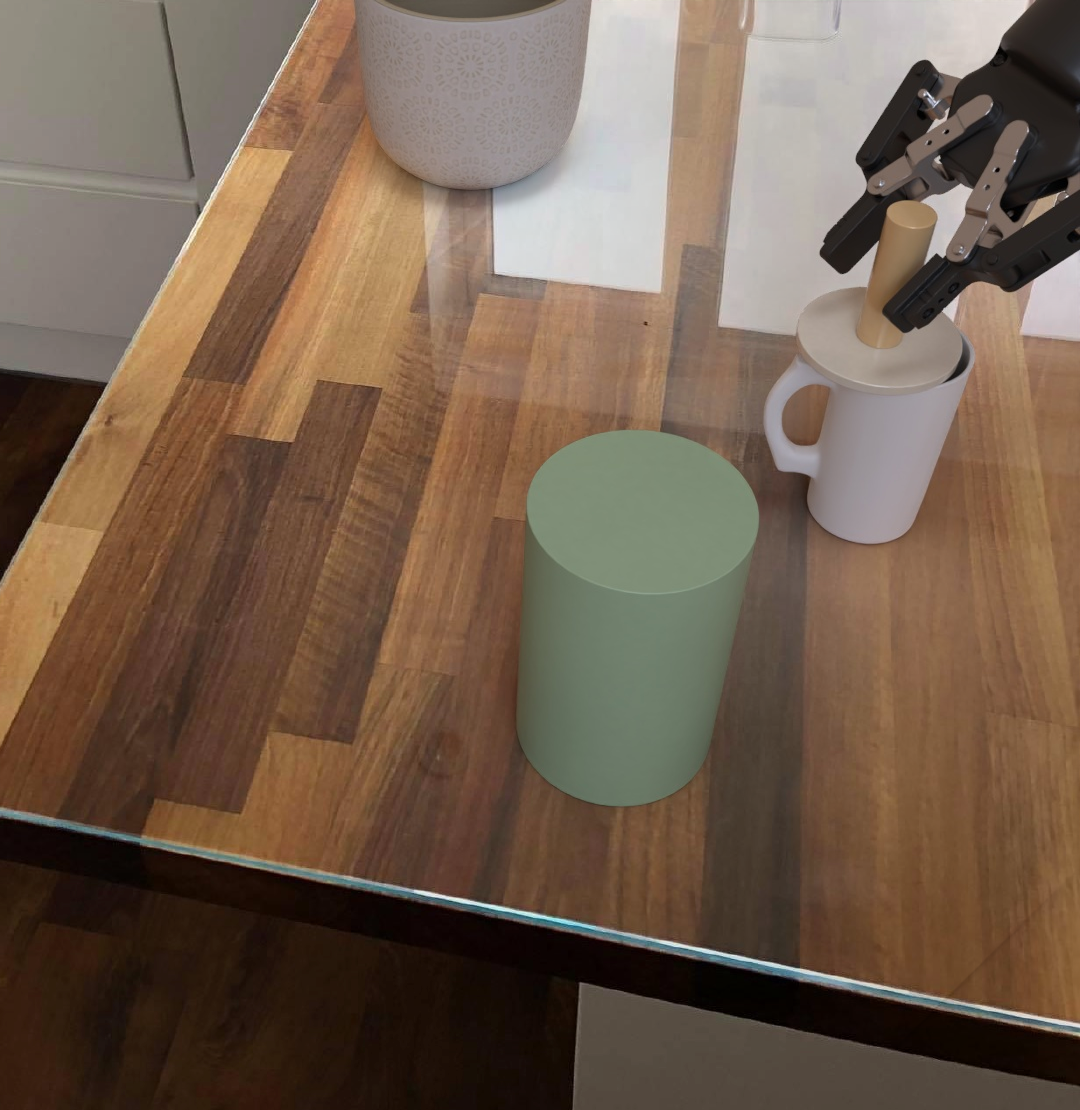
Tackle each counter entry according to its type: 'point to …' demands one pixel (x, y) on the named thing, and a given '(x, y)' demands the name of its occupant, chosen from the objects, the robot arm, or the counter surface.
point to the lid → (882, 319)
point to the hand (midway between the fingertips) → (862, 292)
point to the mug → (867, 450)
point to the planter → (472, 84)
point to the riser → (629, 611)
